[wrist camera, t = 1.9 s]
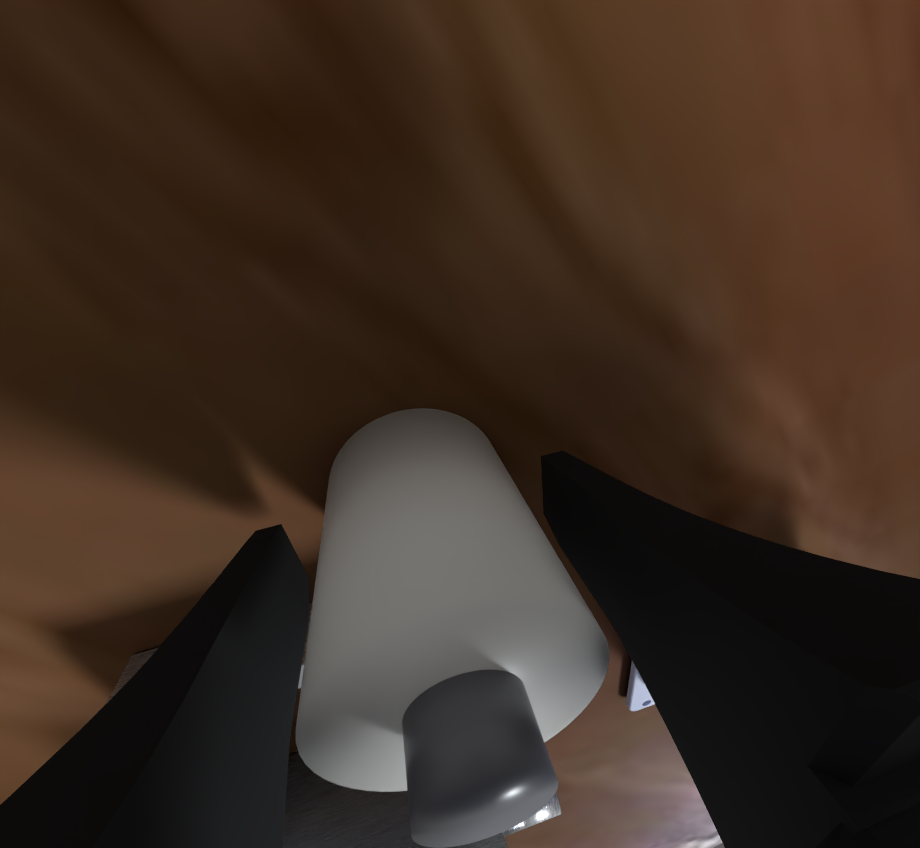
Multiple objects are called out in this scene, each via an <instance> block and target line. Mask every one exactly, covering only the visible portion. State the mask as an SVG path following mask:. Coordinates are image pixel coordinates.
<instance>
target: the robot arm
mask: <svg viewBox="0 0 920 848" xmlns="http://www.w3.org/2000/svg"><path fill="white" fill-rule="evenodd" d="M541 465H542V487H543V508H544V515H545V517H546V519H547V521H548V523H549V525H550V527H551V529H552V531H553V533H554V535H555V537H556V539H557V541H558V543H559V545H560V547H561V548H562V550H563V551H564V553H565V555H566V556H567V558H568V559H569V561H570V562H571V564H572V565H573V567H574V568H575V570H576V571H577V573H578V574H579V576H580V577H581V579H582V580H583V582H584V583H585V585H586V586H587V588H588V589H589V591H590V592H591V594H592V595H593V597H594V598H595V600H596V601H597V603H598V604H599V606H600V607H601V609H602V610H603V612H604V613H605V615H606V616H607V618H608V619H609V621H610V623H611V624H612V626H613V627H614V629H615V631H616V632H617V634H618V636H619V637H620V639H621V641H622V643H623V645H624V646H625V648H626V650H627V652H628V654H629V656H630V658H631V659H632V664H631V671H630V677H629V684H628V691H627V698H626V704H627V706H628V708H629V709H630V710H631V711H637V710H640V709H643V708H645V707H648V706H651V705H653V704H655V705H656V707H657V709H658V710H659V712H660V714H661V716H662V718H663V720H664V722H665V724H666V726H667V728H668V730H669V732H670V734H671V736H672V738H673V740H674V742H675V744H676V746H677V748H678V750H679V752H680V754H681V756H682V758H683V760H684V762H685V764H686V766H687V768H688V770H689V772H690V774H691V776H692V778H693V781H694V783H695V785H696V787H697V789H698V791H699V793H700V795H701V798H702V800H703V802H704V804H705V806H706V808H707V810H708V812H709V814H710V817H711V819H712V821H713V823H714V825H715V827H716V829H717V831H718V834H719V836H720V838H721V840H722V842H723V844H724V846H725V848H920V579H917V578H912V577H907V576H902V575H897V574H893V573H888V572H883V571H879V570H875V569H870V568H866V567H862V566H858V565H854V564H850V563H846V562H842V561H838V560H834V559H830V558H826V557H823V556H819V555H815V554H812V553H808V552H805V551H801V550H797V549H794V548H790V547H787V546H784V545H781V544H777V543H774V542H771V541H768V540H764V539H761V538H758V537H755V536H752V535H749V534H746V533H743V532H740V531H737V530H734V529H731V528H728V527H725V526H723V525H720V524H717V523H715V522H712V521H709V520H707V519H704V518H701V517H699V516H696V515H694V514H691V513H689V512H686V511H684V510H681V509H679V508H677V507H674V506H672V505H670V504H668V503H665V502H663V501H661V500H659V499H656V498H654V497H652V496H650V495H648V494H646V493H644V492H641V491H639V490H637V489H635V488H633V487H631V486H629V485H627V484H625V483H623V482H621V481H619V480H617V479H615V478H613V477H611V476H610V475H608V474H606V473H604V472H602V471H600V470H598V469H596V468H594V467H593V466H591V465H589V464H587V463H585V462H583V461H581V460H580V459H578V458H576V457H574V456H572V455H570V454H568V453H566V452H564V451H559V452H555V453H552V454H548V455H544V456H541ZM309 594H310V579H309V577H308V575H307V573H306V571H305V569H304V567H303V566H302V564H301V562H300V560H299V558H298V556H297V554H296V552H295V550H294V548H293V546H292V544H291V542H290V540H289V538H288V536H287V534H286V532H285V531H284V529H283V527H282V525H281V524H280V525H276V526H273V527H269V528H265V529H261V530H257V531H255V532H254V533H253V535H252V536H251V537H250V538H249V539H248V540H247V542H246V543H245V544H244V545H243V547H242V548H241V549H240V550H239V552H238V553H237V554H236V555H235V557H234V558H233V559H232V560H231V562H230V563H229V564H228V565H227V567H226V568H225V569H224V570H223V572H222V573H221V574H220V575H219V577H218V578H217V579H216V580H215V582H214V583H213V584H212V585H211V587H210V588H209V589H208V590H207V591H206V593H205V594H204V595H203V596H202V598H201V599H200V600H199V601H198V603H197V604H196V605H195V606H194V607H193V609H192V610H191V611H190V612H189V613H188V615H187V616H186V617H185V618H184V619H183V620H182V621H181V623H180V624H179V625H178V626H177V627H176V628H175V630H174V631H173V632H172V633H171V634H170V635H169V636H168V638H167V639H166V640H165V641H164V642H163V643H162V644H161V646H160V647H159V648H158V649H157V650H156V651H155V652H154V654H153V655H152V656H151V657H150V658H149V659H148V660H147V662H146V663H145V664H144V665H143V666H142V667H141V668H140V669H139V670H138V671H137V672H136V673H135V675H134V676H133V677H132V678H131V679H130V680H129V681H128V682H127V683H126V684H125V685H124V686H123V687H122V688H121V689H120V690H119V691H118V692H117V693H116V694H115V695H114V696H113V697H112V699H111V700H110V701H109V702H108V703H107V704H106V705H105V706H104V707H103V708H102V709H101V710H100V711H99V712H98V713H97V714H96V715H95V716H94V717H93V718H92V719H91V720H90V721H89V722H88V723H87V724H86V725H85V726H84V727H83V728H82V729H81V730H80V731H79V732H78V733H77V734H76V735H75V736H74V737H72V738H71V739H70V740H69V741H68V742H67V743H66V744H65V745H64V746H63V747H62V748H61V749H60V750H59V751H58V752H56V753H55V754H54V755H53V756H52V757H51V758H50V759H49V760H48V761H47V762H46V763H45V764H44V765H43V766H42V767H40V768H39V769H38V770H37V771H36V772H35V773H34V774H33V775H32V776H31V777H30V778H29V779H28V780H27V781H26V782H25V783H23V784H22V785H21V786H20V787H19V788H18V789H17V790H16V791H15V792H14V793H13V794H12V795H11V796H10V797H9V798H7V799H6V800H5V801H4V802H3V803H2V804H1V805H0V848H283V841H284V821H285V802H286V788H287V773H288V759H289V746H290V738H291V730H292V722H293V716H294V710H295V704H296V697H297V691H298V685H299V679H300V672H301V666H302V660H303V654H304V647H305V641H306V634H307V628H308V620H309Z"/></svg>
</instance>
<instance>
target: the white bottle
mask: <svg viewBox="0 0 920 848" xmlns="http://www.w3.org/2000/svg"><path fill="white" fill-rule="evenodd" d="M608 665H609V646H608V642H607V638H606V637H605V635H604V633H603V631H602V629H601V628H600V626H599V624H598V623H597V621H596V619H595V618H594V616H593V614H592V613H591V611H590V609H589V607H588V606H587V604H586V602H585V601H584V599H583V597H582V596H581V594H580V592H579V591H578V589H577V587H576V586H575V584H574V582H573V581H572V579H571V577H570V576H569V574H568V572H567V570H566V569H565V567H564V565H563V564H562V562H561V560H560V559H559V557H558V555H557V554H556V552H555V550H554V549H553V547H552V545H551V544H550V542H549V540H548V539H547V537H546V535H545V533H544V532H543V530H542V528H541V527H540V525H539V523H538V522H537V520H536V518H535V517H534V515H533V513H532V512H531V510H530V508H529V507H528V505H527V503H526V502H525V500H524V498H523V496H522V495H521V493H520V491H519V490H518V488H517V486H516V485H515V483H514V481H513V480H512V478H511V476H510V475H509V473H508V471H507V470H506V468H505V466H504V464H503V463H502V461H501V459H500V458H499V456H498V454H497V453H496V451H495V449H494V448H493V446H492V444H491V443H490V441H489V439H488V438H487V437H486V435H485V434H484V433H483V432H482V431H481V430H480V429H479V428H478V427H477V426H476V425H474V424H473V423H471V422H470V421H468V420H467V419H465V418H463V417H461V416H459V415H456V414H453V413H450V412H447V411H443V410H438V409H427V408H418V409H407V410H401V411H397V412H394V413H390V414H387V415H384V416H382V417H380V418H377V419H375V420H373V421H372V422H370V423H368V424H367V425H365V426H363V427H362V428H361V429H360V430H358V431H357V432H356V433H354V434H353V435H352V436H351V437H350V438H349V439H348V440H347V441H346V443H345V444H344V445H343V447H342V448H341V449H340V451H339V452H338V454H337V456H336V458H335V460H334V462H333V465H332V468H331V471H330V476H329V482H328V490H327V497H326V505H325V512H324V520H323V527H322V535H321V542H320V550H319V557H318V565H317V572H316V580H315V587H314V595H313V602H312V610H311V617H310V625H309V632H308V640H307V647H306V655H305V662H304V670H303V677H302V685H301V692H300V700H299V707H298V715H297V722H296V730H295V733H296V746H297V749H298V752H299V755H300V757H301V758H302V760H303V761H304V763H305V764H306V765H307V766H308V767H309V768H310V769H311V770H312V771H313V772H314V773H316V774H317V775H319V776H320V777H322V778H323V779H325V780H328V781H330V782H332V783H335V784H337V785H341V786H344V787H348V788H352V789H358V790H365V791H379V792H395V791H407V792H408V804H409V817H410V829H411V837H412V839H413V840H414V841H415V842H416V843H417V844H419V845H422V846H426V847H433V848H445V847H454V846H460V845H465V844H469V843H473V842H477V841H480V840H483V839H486V838H489V837H492V836H494V835H497V834H499V833H502V832H504V831H506V830H508V829H510V828H512V827H514V826H516V825H518V824H520V823H522V822H523V821H525V820H527V819H528V818H530V817H531V816H533V815H534V814H536V813H537V812H538V811H539V810H541V809H542V808H543V807H544V806H545V805H546V804H547V803H548V802H549V801H550V800H551V799H552V798H553V796H554V795H555V793H556V791H557V788H558V780H557V777H556V774H555V771H554V768H553V766H552V763H551V760H550V757H549V754H548V751H547V749H546V746H545V742H546V741H548V740H549V739H550V738H552V737H553V736H555V735H556V734H557V733H559V732H560V731H561V730H562V729H564V728H565V727H566V726H567V725H569V724H570V723H571V722H572V721H573V720H574V719H575V718H576V717H577V716H578V715H579V714H580V713H581V712H582V711H583V710H584V709H585V708H586V706H587V705H588V704H589V703H590V702H591V700H592V699H593V698H594V696H595V695H596V693H597V692H598V690H599V688H600V686H601V685H602V683H603V681H604V678H605V675H606V673H607V670H608Z"/></svg>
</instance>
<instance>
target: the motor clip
mask: <svg viewBox="0 0 920 848" xmlns="http://www.w3.org/2000/svg"><path fill="white" fill-rule="evenodd" d="M311 610H312V603H310V604H309V620H308V628H307V634H306V641H305V647H304V654H303V660H302V666H301V672H300V679H299V685H298V689H299V688H301V685H302V677H303V670H304V662H305V655H306V647H307V640H308V632H309V625H310V617H311ZM158 648H159V647H158ZM158 648H155V649H152V650H148V651H145V652H141V653H138V654H134V655H132V656H131V658H130V660H129V661H128V663H127V665H126V667H125V669H124V671H123V673H122V674H121V676H120V678H119V680H118V682H117V684H116V686H115V687H114V689H113V691H112V693H111V695H110V697H109V699H108V700H107V702H106V704H107V703H108V702H109V701H110V700H111V699H112V697H113V696H114V695H115V694H116V693H117V692H118V691H119V690H120V689H121V688H122V687H123V686H124V685H125V684H126V683H127V682H128V681H129V680H130V679H131V678H132V677H133V676H134V675H135V673H136V672H137V671H138V670H139V669H140V668H141V667H142V666H143V665H144V664H145V663H146V662H147V660H148V659H149V658H150V657H151V656H152V655H153V654H154V652H155V651H156V650H157V649H158ZM106 704H105V705H106ZM560 814H561V808H560V804H559V800H558V796H557V793H555V795H554V796H553V798H552V799H551V800H550V801H549V802H548V803H547V804H546V805H545V806H544V807H543V808H542V809H541V810H539V811H538V812H537V813H536V814H534V815H533V816H531V817H530V818H528V819H527V820H525V821H523V822H522V823H520V824H518V825H516V826H514V827H512V828H510V829H508V830H506V831H504V832H502V833H499V834H497V835H494V836H492V837H489V838H486V839H483V840H480V841H477V842H473V843H469V844H465V845H460V846H454V847H445V848H508V847H507V843H506V838H505V836H507V835H510V834H512V833H515V832H517V831H520V830H522V829H525V828H527V827H530V826H532V825H535V824H537V823H540V822H543V821H545V820H548V819H550V818H553V817H555V816H558V815H560ZM283 848H433V847H426V846H422V845H419V844H417V843H416V842H415V841H414V840H413V839H412V837H411V829H410V817H409V804H408V792H407V791H395V792H379V791H365V790H358V789H352V788H348V787H344V786H341V785H337V784H335V783H332V782H330V781H328V780H325V779H323V778H322V777H320V776H319V775H317V774H316V773H314V772H313V771H312V770H311V769H310V768H309V767H308V766H307V765H306V764H305V763H304V761H303V760H302V758H301V757H300V755H299V752H297V753H294V754H291V755H289V759H288V773H287V788H286V802H285V821H284V841H283Z"/></svg>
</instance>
